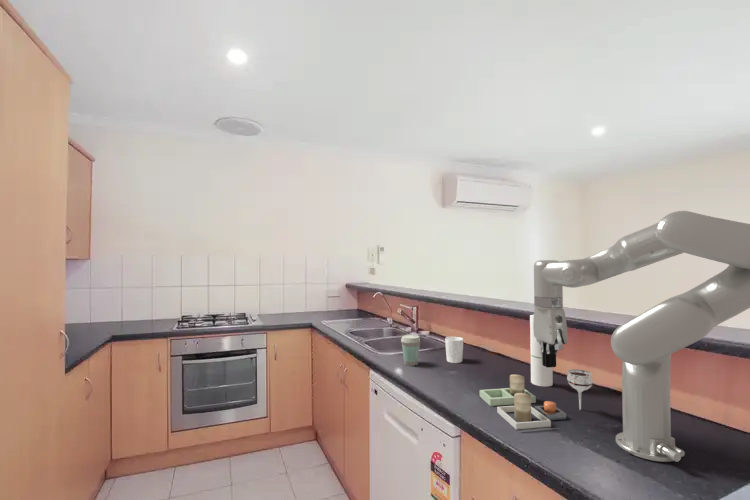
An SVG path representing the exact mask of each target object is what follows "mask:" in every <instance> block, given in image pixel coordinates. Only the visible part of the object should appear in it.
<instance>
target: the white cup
mask: <svg viewBox="0 0 750 500" xmlns="http://www.w3.org/2000/svg"><path fill="white" fill-rule="evenodd" d="M444 344H445V355H446V361H447V363H451V364H460V363H462V362H463V355H464V354H463V351H464V338H463V337H460V336H459V337H458V336H447V337H445V338H444Z"/></svg>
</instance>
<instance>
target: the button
mask: <svg viewBox="0 0 750 500" xmlns="http://www.w3.org/2000/svg"><path fill="white" fill-rule="evenodd" d="M543 406H544V411H545V412H547V413H556V407H557V403H556V402H555V401H551V400H546V401H544V402H543Z"/></svg>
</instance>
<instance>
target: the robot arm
mask: <svg viewBox="0 0 750 500" xmlns="http://www.w3.org/2000/svg"><path fill="white" fill-rule="evenodd" d="M684 253H685V254H688V255H690V256H691V255H692V256H695V257H698V258H703V259H706V260H711V261H713V262H714V261H715V262H718V263H721V264H726V265H728V266H727V267H726V268H725V269H724V270H722V271H721V272H719V273H718V274H715V275H714V276H712V277H710V278H708V279H706V280H705V281H703V282H702V283H700V284H699V285H697V286H694V287H693V288H691V289H689V290H687V291H686V292H683V293H680V294H677V295H675V296H671V297H669V298H667V299H665V300H663V301H660V303H658V304H656V305H654V306H652V307H650V308H649V309H648V310H646V311H644V312H643V313H641V314H638V315H636V316H635V317H634V318H632V319H629V320H628V321H626V322H624V323H623V324H621V325H619V326H618V327H616V328H615V329H614V331H613V332H612V334H611V337H610V346H611V349H612V351H613V353H614V355H615V356H616V357H617V358H618V359H620V360H621V361H622V364H621V368H622V369H621V371H622V372H621V386H622V388H621V390H622V391H621V398H622V402H621V403H622V432H619V433H617V434H616V435H615V443H616V444H617V445H618V446H619V447H620V448H622V449H623V450H624V451H626V452H627V453H628V452H629V454H631V455H632V456H635V457H638V458H641V459H643V460H648V461H652V462H660V463H670V462H676V463H677V462H679V461H681V459H682V457H684V456H685V453H686V452H685V451H684V450H683V449H681V448H679V447H677V446H676V438H675V437H672V433H671V432H672V431H671V429H672V428H671V427H672V423H671V418H672V417H671V359H672V354H674V353H675V352H678V351H680V350H682V349H685V348H687V347H688V346H690V345H692V344H695V343H696V342H698V341H700V340H702V339H703V338H705V337H706V336H707V335H709V333H710V332H711V331H712V330H713V329H714V328H716V327H717V326H718V325H721V324H723V323H724V322H726V321H728V320H730V319H732V318H735V316H736V317H737V315H739V314H741V313H744V312H745V311H746V310H749V309H750V223H745V222H741V221H734V220H730V219H725V218H722V217H721V218H720V217H717V216H716V217H714V216H710V215H706V214H701V213H696V212H693V211H689V210H679V211H678V210H676V211H674V212H670V213H668V214H666V215H665V216H663V217H662V218H661V219H660V220H659V221H658V222H656V223H654V224H652V225H650V226H647V227H644V228H642V229H640V230H637V231H634V232H632V233H629V234H627V235H624V236H622V237H621V238H619V239H618V240H617V241H616V242H615V243H614V244H613V245H612V246H610V247H608V248H606V249H604V250H602V251H600V252H598V253H594V254H592V255H590V256H588V257H585V258H582V259H580V258H579V259H568V260H561V261H560V260H555V259H553V260H551V259H550V260H549V259H548V260H547V259H544V260H543V259H540V260H536V261H535V262H534V264H533V290H534V291H533V292H534V293H533V299H534V300H533V301H534V302H533V303H534V305H533V306H534V313H533V315H534V322H533V331H534V337H535V338H537V342H539V343H540V345H541V351H542V365H543V366H545V367H547V368H548V367H552V368H556V367H557V354H558V351H560V350H561V351H562V350H563V349H564V347H563V345H567V344H568V342H569V341H568V339H569V338H568V325H567V319H566V313H565V310H564V303H563V302H564V295H563V293H564V292H563V287H565V288H573V289H574V288H580V287H585V286H590V285H593V284H597V283H599V282H602V281H605V280H608V279H610V278H614V277H616V276H619V275H622V274H624V273H627V272H633V271H636V270H638V269H641V268H644V267H647V266H650V265H653V264H655V263H658V262H661V261H663V260H666V259H670V258H673V257H676V256H678V255H681V254H684Z"/></svg>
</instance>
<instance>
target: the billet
mask: <svg viewBox="0 0 750 500" xmlns="http://www.w3.org/2000/svg"><path fill="white" fill-rule="evenodd" d="M513 406H514V412H513V413H514V420H515V421H516V422H517V421H518V422H531V421H532V413H531V407H532V403H531V396H530V395H528V394H525V393H516V394H514V404H513Z"/></svg>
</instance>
